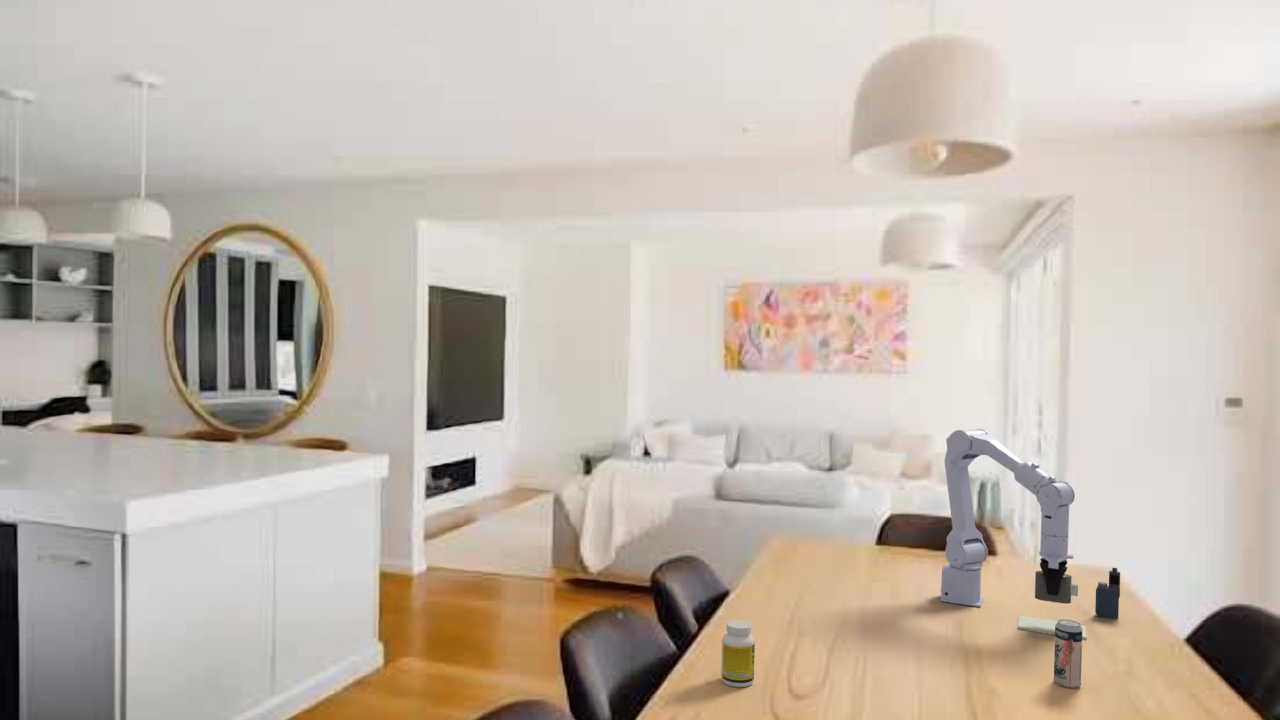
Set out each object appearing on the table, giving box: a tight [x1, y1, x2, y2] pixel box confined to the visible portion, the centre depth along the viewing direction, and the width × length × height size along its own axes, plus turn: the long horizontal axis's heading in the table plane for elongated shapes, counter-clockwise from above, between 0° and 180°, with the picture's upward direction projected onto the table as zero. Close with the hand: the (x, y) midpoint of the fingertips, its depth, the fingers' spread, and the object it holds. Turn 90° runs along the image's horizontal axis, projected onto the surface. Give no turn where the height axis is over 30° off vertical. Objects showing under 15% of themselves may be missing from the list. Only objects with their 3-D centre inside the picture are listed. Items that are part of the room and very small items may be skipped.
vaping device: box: [1094, 567, 1121, 619], centre depth 202 cm, size 3×5×12 cm, turn 78°
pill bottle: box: [720, 619, 756, 688], centre depth 157 cm, size 6×6×11 cm
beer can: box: [1053, 618, 1083, 689], centre depth 159 cm, size 5×5×12 cm
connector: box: [1034, 570, 1079, 605], centre depth 191 cm, size 9×4×6 cm, turn 63°
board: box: [1017, 615, 1087, 641], centre depth 192 cm, size 14×9×1 cm, turn 63°
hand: (1052, 592), depth 192 cm, fingers closed on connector, 3 cm apart
